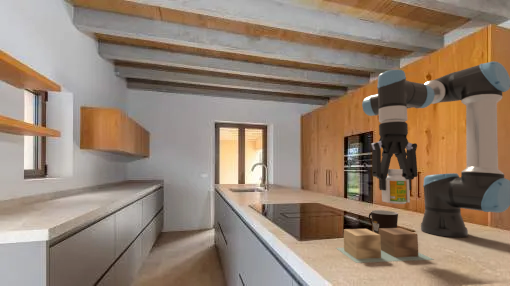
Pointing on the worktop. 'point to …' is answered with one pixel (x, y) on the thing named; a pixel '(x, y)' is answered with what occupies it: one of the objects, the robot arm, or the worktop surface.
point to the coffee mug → (383, 219)
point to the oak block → (362, 243)
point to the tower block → (399, 242)
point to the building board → (385, 257)
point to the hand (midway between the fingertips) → (395, 201)
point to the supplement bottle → (397, 186)
